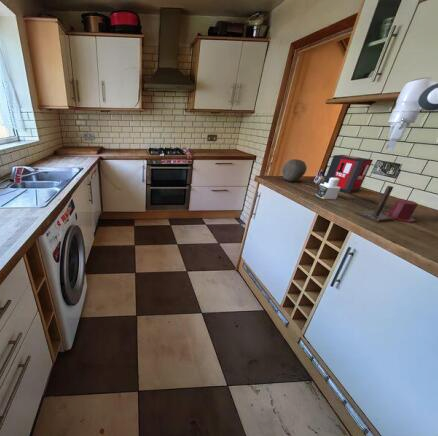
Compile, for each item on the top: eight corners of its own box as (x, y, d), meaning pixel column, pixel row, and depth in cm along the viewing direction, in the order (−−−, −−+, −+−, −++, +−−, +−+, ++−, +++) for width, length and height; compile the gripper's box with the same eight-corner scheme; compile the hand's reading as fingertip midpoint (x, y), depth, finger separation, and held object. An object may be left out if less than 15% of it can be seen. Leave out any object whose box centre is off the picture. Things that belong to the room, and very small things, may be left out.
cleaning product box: (358, 191, 143) (373, 159, 134) (349, 193, 140) (364, 160, 131) (330, 184, 157) (342, 154, 148) (322, 185, 153) (333, 155, 145)
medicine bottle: (315, 195, 135) (322, 175, 130) (327, 195, 135) (335, 175, 129) (323, 199, 128) (331, 178, 123) (335, 199, 128) (344, 179, 123)
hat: (420, 221, 105) (430, 205, 101) (403, 222, 103) (413, 206, 99) (394, 212, 114) (402, 197, 110) (378, 213, 112) (386, 198, 108)
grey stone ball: (301, 185, 153) (309, 162, 146) (278, 181, 160) (284, 159, 153) (302, 180, 164) (309, 159, 157) (280, 177, 170) (286, 156, 164)
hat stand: (393, 220, 104) (410, 189, 98) (378, 222, 103) (394, 190, 96) (371, 212, 112) (386, 183, 106) (357, 213, 111) (371, 183, 104)
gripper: (414, 118, 97) (399, 151, 102) (409, 119, 111) (396, 149, 116) (394, 117, 101) (380, 150, 106) (391, 119, 115) (379, 147, 120)
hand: (389, 149), depth 111 cm, fingers open, 8 cm apart
